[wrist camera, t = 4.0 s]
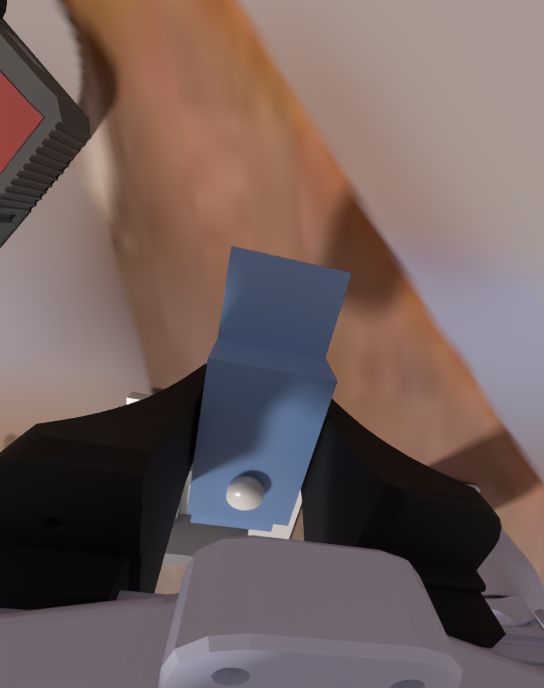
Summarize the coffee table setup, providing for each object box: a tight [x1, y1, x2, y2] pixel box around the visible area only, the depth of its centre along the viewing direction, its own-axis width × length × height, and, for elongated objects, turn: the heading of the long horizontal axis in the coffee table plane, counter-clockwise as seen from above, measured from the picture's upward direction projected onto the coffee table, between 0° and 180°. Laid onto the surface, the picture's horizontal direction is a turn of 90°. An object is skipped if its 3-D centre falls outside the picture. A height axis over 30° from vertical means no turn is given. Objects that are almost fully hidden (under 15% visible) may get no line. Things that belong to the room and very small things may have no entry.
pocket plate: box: [127, 392, 302, 566], centre depth 23 cm, size 16×16×4 cm
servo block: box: [187, 246, 352, 532], centre depth 10 cm, size 4×12×5 cm, turn 168°
